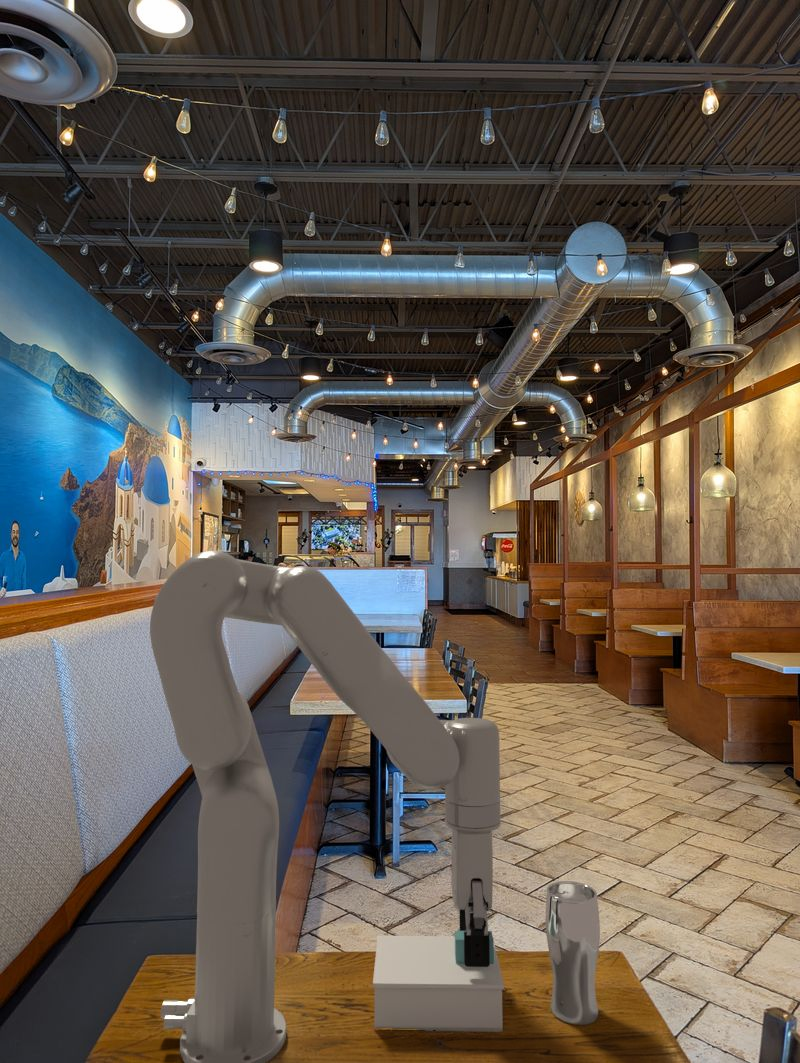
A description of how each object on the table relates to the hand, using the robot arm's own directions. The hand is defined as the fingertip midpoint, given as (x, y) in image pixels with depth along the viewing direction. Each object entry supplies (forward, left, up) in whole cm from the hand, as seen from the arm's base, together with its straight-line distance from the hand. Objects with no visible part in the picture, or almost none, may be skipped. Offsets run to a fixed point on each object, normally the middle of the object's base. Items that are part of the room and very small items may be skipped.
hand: (473, 947), depth 90 cm
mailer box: (-5, 0, -7) cm, 9 cm away
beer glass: (+13, -1, -7) cm, 15 cm away
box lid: (-5, 0, -2) cm, 5 cm away
